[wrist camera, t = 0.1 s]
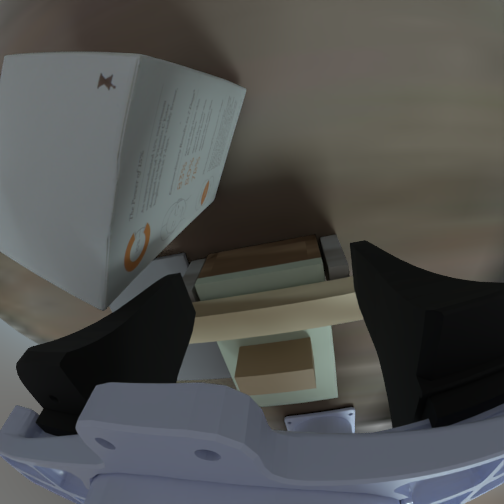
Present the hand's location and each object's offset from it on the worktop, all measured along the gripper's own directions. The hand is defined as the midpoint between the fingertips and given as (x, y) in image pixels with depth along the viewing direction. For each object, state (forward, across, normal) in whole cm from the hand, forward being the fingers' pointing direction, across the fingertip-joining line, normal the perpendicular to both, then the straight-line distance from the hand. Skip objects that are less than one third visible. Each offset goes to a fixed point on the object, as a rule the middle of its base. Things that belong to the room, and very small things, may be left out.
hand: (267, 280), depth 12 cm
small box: (+10, +4, -6) cm, 13 cm away
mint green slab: (+6, +2, +9) cm, 11 cm away
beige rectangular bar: (+5, +2, +5) cm, 7 cm away
